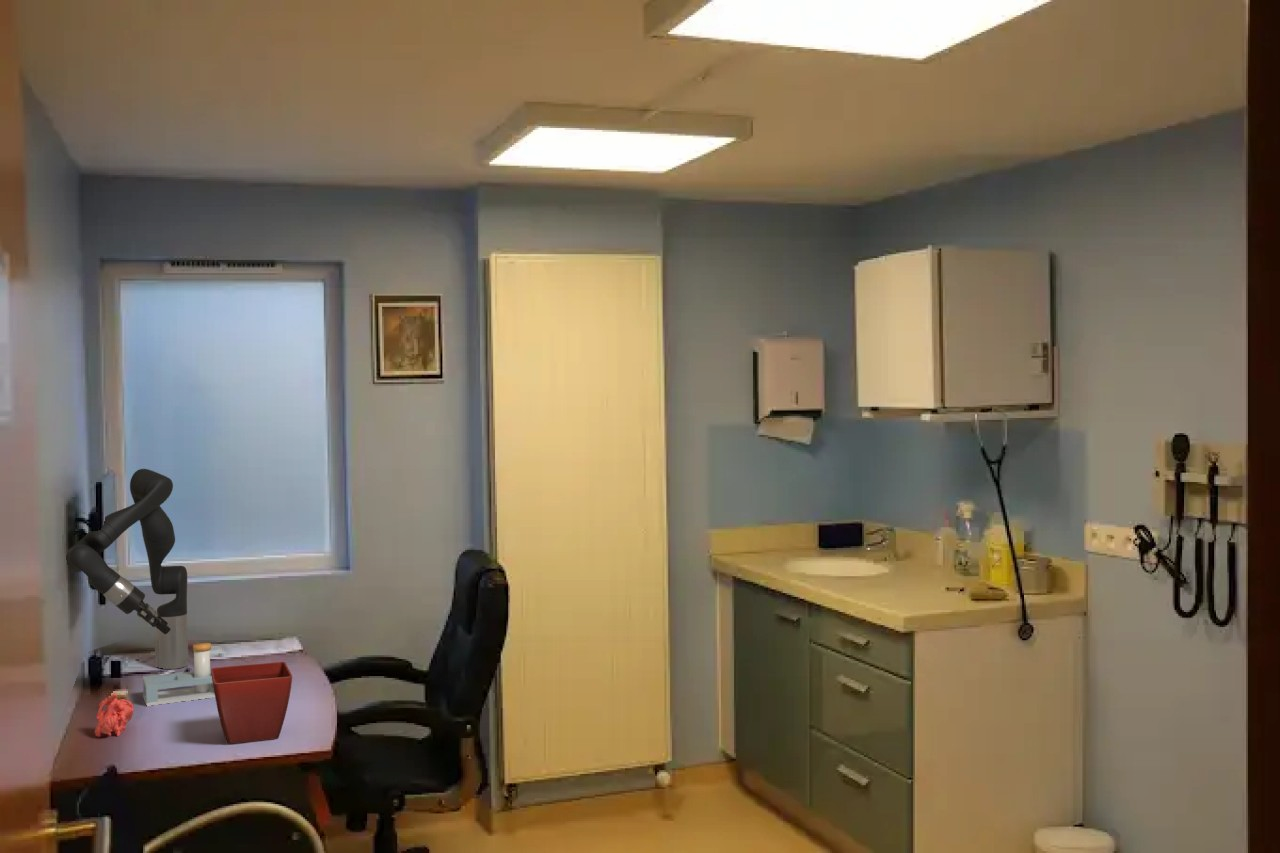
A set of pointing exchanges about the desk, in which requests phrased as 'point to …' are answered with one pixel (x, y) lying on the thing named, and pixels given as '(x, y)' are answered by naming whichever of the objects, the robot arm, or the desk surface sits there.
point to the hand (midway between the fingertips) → (167, 628)
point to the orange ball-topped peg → (201, 665)
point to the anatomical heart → (113, 716)
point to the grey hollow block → (172, 681)
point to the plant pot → (252, 700)
